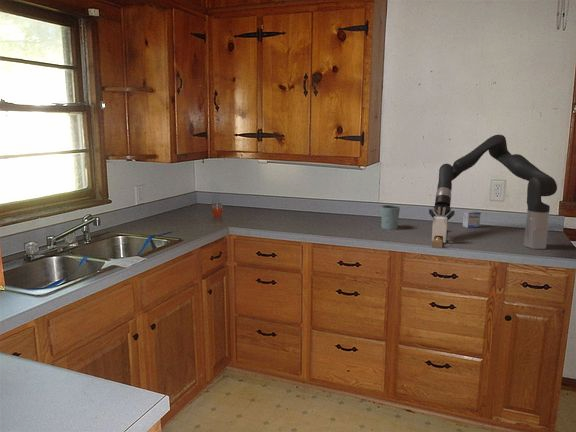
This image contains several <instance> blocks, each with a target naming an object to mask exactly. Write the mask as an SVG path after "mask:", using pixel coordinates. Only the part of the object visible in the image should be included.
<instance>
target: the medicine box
mask: <svg viewBox="0 0 576 432" xmlns="http://www.w3.org/2000/svg"><path fill="white" fill-rule="evenodd" d="M481 214H482V212H480V211H478V210H477V211H475V210H474V211H473V210H472V211H463V218H462V227H463V228H466V229H475V228H476V229H477V228H480V227H481V226H480V223H481Z"/></svg>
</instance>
